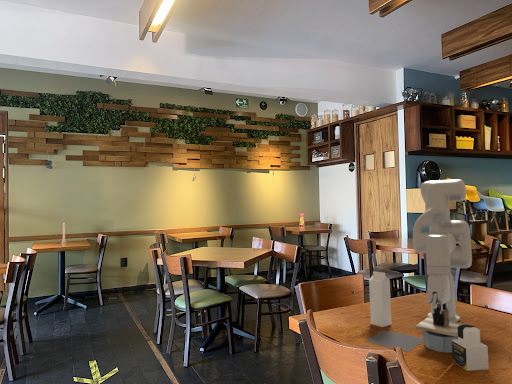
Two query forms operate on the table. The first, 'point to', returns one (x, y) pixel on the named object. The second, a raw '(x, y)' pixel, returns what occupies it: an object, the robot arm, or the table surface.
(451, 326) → the lid
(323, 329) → the table surface
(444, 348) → the bowl
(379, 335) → the mat
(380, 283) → the milk
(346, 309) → the table surface
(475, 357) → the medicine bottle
